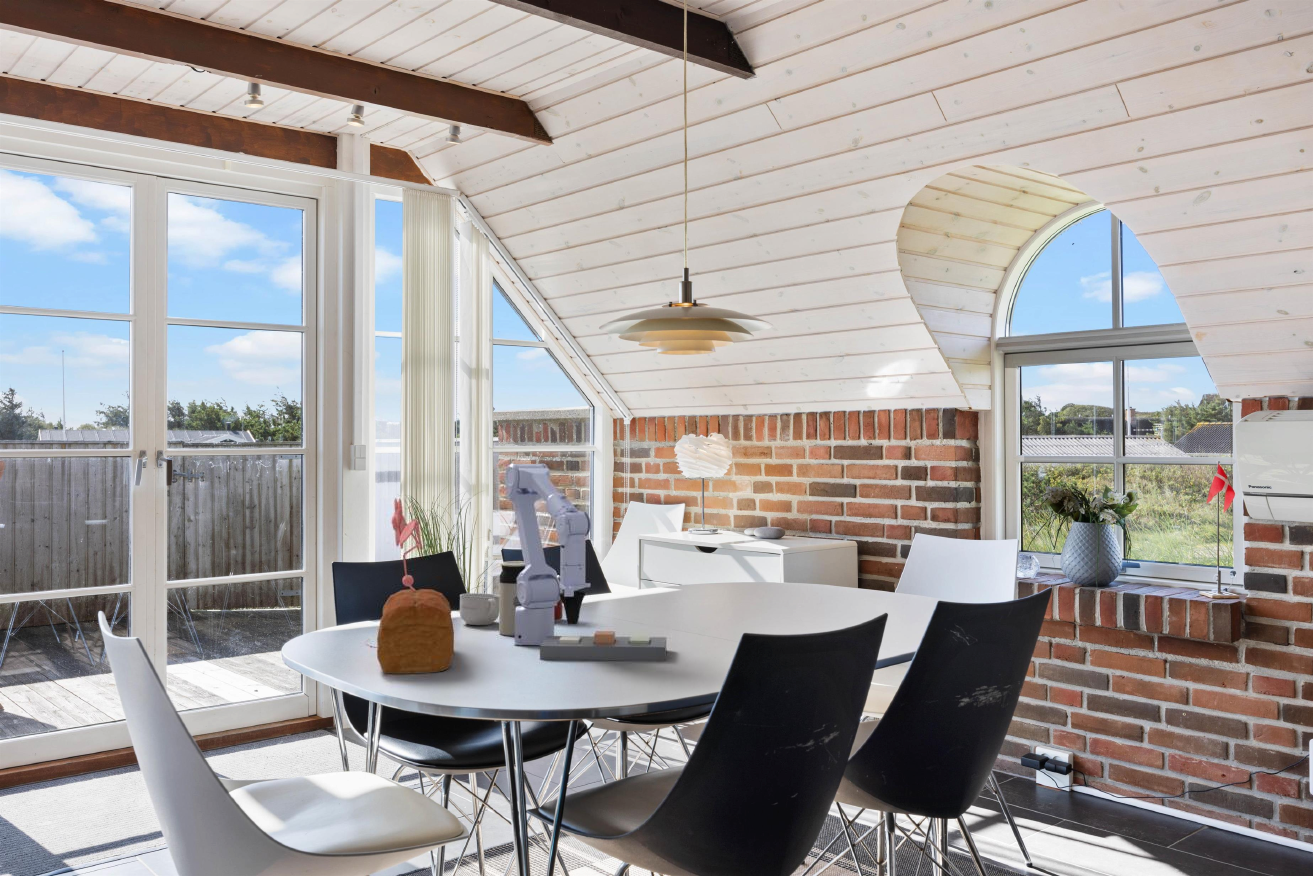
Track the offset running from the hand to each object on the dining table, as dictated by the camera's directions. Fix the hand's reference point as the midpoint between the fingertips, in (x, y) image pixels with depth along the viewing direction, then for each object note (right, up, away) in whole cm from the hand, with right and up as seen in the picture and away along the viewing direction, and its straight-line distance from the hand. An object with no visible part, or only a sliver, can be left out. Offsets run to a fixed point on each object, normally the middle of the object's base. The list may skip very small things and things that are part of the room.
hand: (572, 623), depth 230 cm
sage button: (+15, -6, 0) cm, 17 cm away
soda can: (-10, -8, +45) cm, 47 cm away
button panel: (+7, -7, 0) cm, 10 cm away
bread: (-34, -7, -8) cm, 36 cm away
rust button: (+7, -5, 0) cm, 9 cm away
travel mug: (-17, -7, +26) cm, 32 cm away
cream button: (-1, -6, 0) cm, 7 cm away
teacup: (-27, -8, +38) cm, 47 cm away
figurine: (-44, -7, +14) cm, 47 cm away
